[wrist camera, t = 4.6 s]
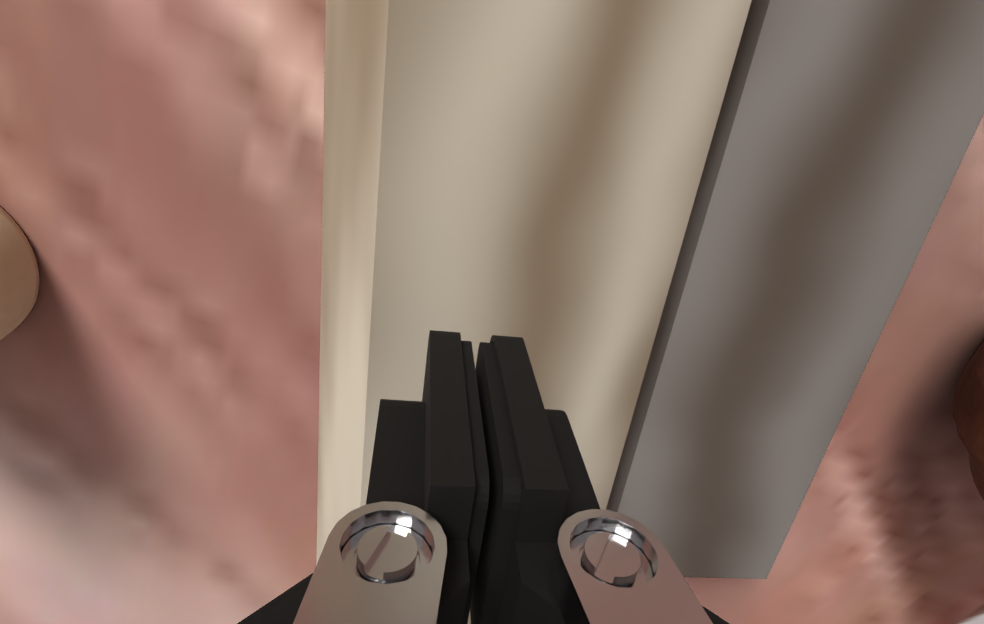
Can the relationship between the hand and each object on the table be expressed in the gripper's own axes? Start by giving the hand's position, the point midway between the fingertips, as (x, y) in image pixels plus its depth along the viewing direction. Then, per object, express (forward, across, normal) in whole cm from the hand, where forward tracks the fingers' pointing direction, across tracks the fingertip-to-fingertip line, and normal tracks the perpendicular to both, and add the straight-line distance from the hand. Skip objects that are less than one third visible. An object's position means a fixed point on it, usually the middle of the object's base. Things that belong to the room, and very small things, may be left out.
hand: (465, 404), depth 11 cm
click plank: (+5, -1, 0) cm, 5 cm away
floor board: (+9, -10, 0) cm, 14 cm away
